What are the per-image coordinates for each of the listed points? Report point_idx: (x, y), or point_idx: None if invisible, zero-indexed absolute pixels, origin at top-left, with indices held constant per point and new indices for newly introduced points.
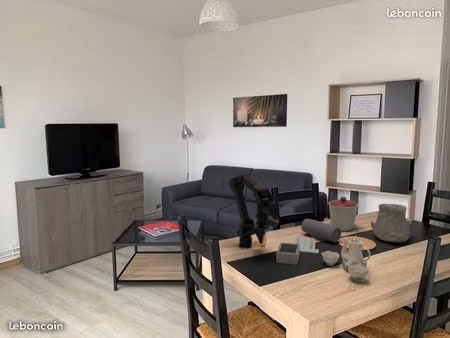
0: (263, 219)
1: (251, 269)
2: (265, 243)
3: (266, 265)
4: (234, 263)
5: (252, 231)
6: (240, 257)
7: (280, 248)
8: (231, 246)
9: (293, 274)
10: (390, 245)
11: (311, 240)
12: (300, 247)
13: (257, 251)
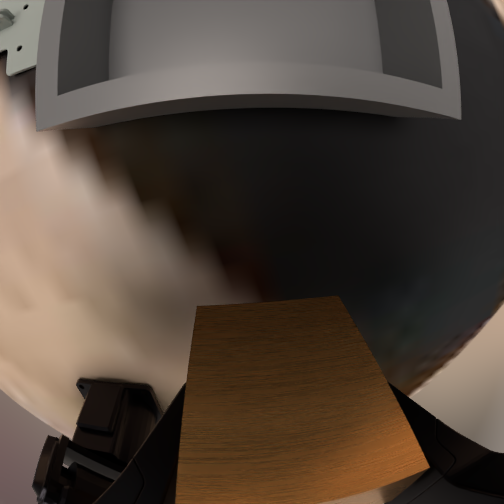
0: None
1: (486, 273)
2: (280, 328)
3: (449, 195)
4: (415, 374)
5: (97, 486)
6: None
7: (268, 64)
8: None
9: (498, 30)
10: None
11: None
12: (12, 2)
13: (182, 330)
